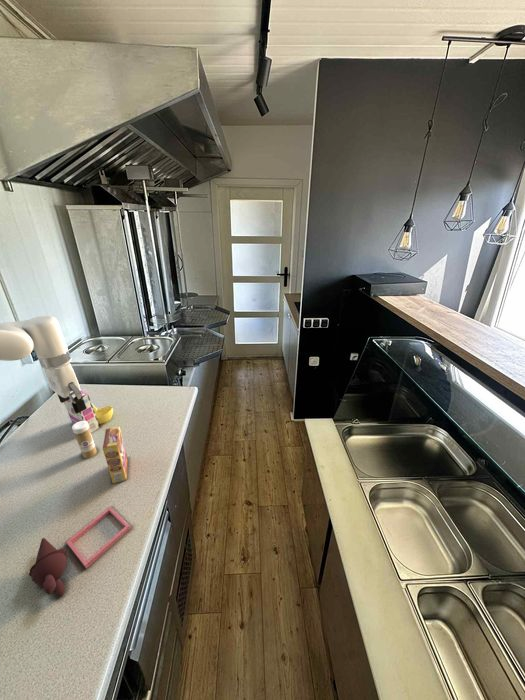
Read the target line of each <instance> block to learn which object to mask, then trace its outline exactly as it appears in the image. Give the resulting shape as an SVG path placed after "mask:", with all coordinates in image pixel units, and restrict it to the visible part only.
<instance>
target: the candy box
mask: <svg viewBox="0 0 525 700" xmlns="http://www.w3.org/2000/svg"><path fill="white" fill-rule="evenodd" d="M104 432H105V433H104V437H103V444H102V450H103V454H104V456H105V461H106V465H107V469H108V471H109V475H110V478H111V481H112V484H116V483H120V482H123V481H126V480H127V477H128V463H129V459H128V455H127V450H126V446H125V443H124V439H123V435H122V431H121V427H120V426H113V427H109V428H105V431H104Z"/></svg>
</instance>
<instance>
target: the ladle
mask: <svg viewBox="0 0 525 700" xmlns="http://www.w3.org/2000/svg"><path fill="white" fill-rule="evenodd" d="M91 404H92V406H93V409H94V412H95V415H96V417H97V420H98V423H99V425H102V424H105V423H107V422H109V420H111V418H112V417H113V415H114V414H113V413H114V408H113V406H111V405H107V406H103V407H100V408H97V407H96V406H95V405H94V404H93V403H92V402H91Z"/></svg>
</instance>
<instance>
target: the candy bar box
mask: <svg viewBox="0 0 525 700" xmlns="http://www.w3.org/2000/svg"><path fill="white" fill-rule="evenodd" d="M80 391H81V394H82V396H83V399H84V402H85V405H86V409H85V410H83V411H81V412H79V413H78V414H76V413H75V411H74V409H73V406H72V404H71V403H72V401H71V399H70V400H68V401H65V402H63V404H64V407H65V410H66V412H67V414H68V417H69V419H70V421H71V424H72V426H73V425H74V424H75V423H77V422H80V421H86V422H87V423H88V425H89V430H90V433H91V434H93V433H94V432H95V431H97V430H98V429H100V428H101V426H100V424H99V423H98V420H97V417H96V415H95V412H94V411H95V410H94V409H93V406H92V404H93V403H92V401H91V399H90V396H89V394H88V393H87V392H85V391H83V390H81V389H80ZM72 392H73V391H71V392H70V393H72ZM72 397H73V398H74V397H75V394H74V395H72ZM91 403H92V404H91Z"/></svg>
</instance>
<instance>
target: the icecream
mask: <svg viewBox="0 0 525 700" xmlns="http://www.w3.org/2000/svg"><path fill="white" fill-rule="evenodd" d="M67 554H68V553H67V550H65V548H64V547H61V548H58V549H57V548H56V547H55V546H54V545H52V544H51V542H49V540H47V538H45V537H42V538H41V540H40V543H39V548H38V551H37V555H36V559H35V563H34V564H33V565H32V566H31V567H30V569H29V572H28V576H29V577H31V581H32V582H33V583H34V584H35V585H37V586H38V587H39V588H40V590H44V592H45V595H46V594H47V595H51V594H52V593H53V592H54V593H55V596H56V598H58V599H59V598H62V597H63V596H64V595H65V589H66V588H65V587H66V586H65V584H64V583H63V581H62V580H61V577H62V576H63V573H64V572H65V570H66V568H67V563H68V562H67Z"/></svg>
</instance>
